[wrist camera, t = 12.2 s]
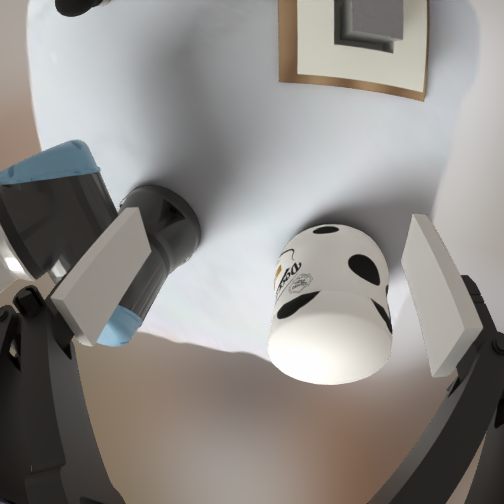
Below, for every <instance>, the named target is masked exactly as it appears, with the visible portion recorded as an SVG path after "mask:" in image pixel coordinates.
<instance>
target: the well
mask: <svg viewBox="0 0 504 504" xmlns="http://www.w3.org/2000/svg"><path fill="white" fill-rule="evenodd" d="M343 2H344V0H297V21H298V65H297V74H304V75H318V76H329V77H338V78H346V79H354V80H361V81H368V82H374V83H380V84H385V85H390V86H396V87H400V88H405V89H410V90H414V91H418V92H422V93H423V86H424V75H425V62H426V42H427V0H403V40H400V41H393V42H387V43H381V44H375V45H374V44H368V43H361V42H355V41H347V40H340V8H341V6H342V4H343Z"/></svg>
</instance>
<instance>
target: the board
mask: <svg viewBox="0 0 504 504" xmlns="http://www.w3.org/2000/svg"><path fill="white" fill-rule="evenodd" d="M278 22H279V82H286V83H304V84H317V85H328V86H337V87H346V88H353V89H361V90H367V91H373V92H379V93H385V94H390V95H396V96H401V97H405V98H410V99H414V100H419V101H423V102H424V98H425V89H426V78H427V66H428V48H429V0H427V42H426V62H425V75H424V86H423V93H422V92H418V91H414V90H410V89H405V88H400V87H396V86H390V85H385V84H380V83H374V82H368V81H361V80H354V79H346V78H338V77H329V76H318V75H304V74H297V65H298V21H297V0H278Z"/></svg>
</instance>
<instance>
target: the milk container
mask: <svg viewBox="0 0 504 504" xmlns="http://www.w3.org/2000/svg"><path fill="white" fill-rule="evenodd" d="M388 287H389V272H388V267H387V264H386V261H385V258H384V256H383V254H382V252H381V250H380V249H379V247H378V246H377V244H376V243H375V242H374V241H373V240H372V239H371V238H370V237H369V236H368V235H366V234H365V233H363V232H362V231H360V230H358V229H355V228H352V227H349V226H346V225H340V224H324V225H319V226H316V227H312V228H309V229H306V230H305V231H303V232H301V233H299V234H298V235H296V236H295V237H294V238H293V239H292V240H290V241H289V243H288V244H287V245H286V246H285V248H284V250H283V251H282V253H281V255H280V257H279V259H278V262H277V264H276V268H275V273H274V289H275V295H276V302H275V306H274V310H273V314H272V319H271V328H270V333H269V339H268V353H269V355H270V358H271V360H272V362H273V364H274V365H275V366H276V367H278V368H279V369H280V370H281V371H282V372H283V373H285V374H287V375H289V376H291V377H293V378H295V379H298V380H301V381H305V382H309V383H314V384H329V385H336V384H343V383H350V382H354V381H357V380H360V379H363V378H366V377H369V376H370V375H372V374H373V373H375V372H376V371H377V370H379V369H381V368H382V367H383V366H384V364H385V363H386V361H387V360H388V359H389V358H390V354H391V346H392V325H391V317H390V311H389V307H388V302H387V293H388Z"/></svg>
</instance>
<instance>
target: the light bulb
mask: <svg viewBox="0 0 504 504" xmlns="http://www.w3.org/2000/svg"><path fill="white" fill-rule="evenodd" d="M109 2H110V0H55V6H56V9H57V11H58V12H59V13H60V14H62V15H64V16H67V17H75V16H79V15H81V14H84V13H85V12H87V11H88V10H89V9H91V8H92V7H96V6H105V5H107V4H108V3H109Z"/></svg>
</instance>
